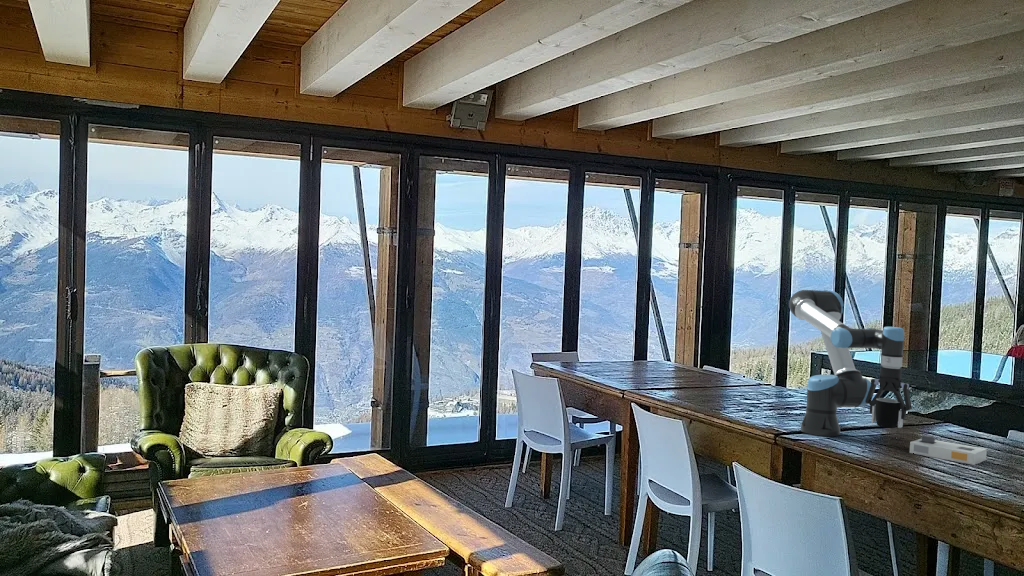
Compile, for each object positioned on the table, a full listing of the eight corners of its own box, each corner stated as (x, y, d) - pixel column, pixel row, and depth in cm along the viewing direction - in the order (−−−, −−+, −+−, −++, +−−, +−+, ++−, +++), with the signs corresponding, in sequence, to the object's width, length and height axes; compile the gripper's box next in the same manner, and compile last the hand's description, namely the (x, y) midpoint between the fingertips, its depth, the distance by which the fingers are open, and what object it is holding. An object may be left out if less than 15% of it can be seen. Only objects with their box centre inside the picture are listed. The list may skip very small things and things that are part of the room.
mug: (903, 429, 321) (905, 403, 320) (879, 428, 321) (881, 401, 320) (889, 422, 333) (891, 397, 332) (866, 421, 333) (868, 395, 332)
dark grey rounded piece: (919, 444, 315) (919, 436, 315) (923, 442, 318) (924, 434, 318) (931, 446, 312) (932, 438, 312) (936, 445, 315) (936, 437, 315)
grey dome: (956, 456, 306) (957, 448, 305) (960, 455, 309) (961, 447, 309) (969, 459, 302) (970, 451, 302) (973, 457, 306) (974, 449, 305)
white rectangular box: (909, 452, 313) (909, 442, 313) (922, 448, 322) (923, 437, 322) (973, 465, 297) (974, 453, 297) (986, 459, 307) (986, 448, 306)
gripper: (858, 363, 330) (854, 420, 331) (917, 372, 314) (912, 431, 315) (866, 362, 335) (862, 418, 336) (924, 370, 319) (920, 429, 321)
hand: (886, 424), depth 326 cm, fingers closed on mug, 9 cm apart
